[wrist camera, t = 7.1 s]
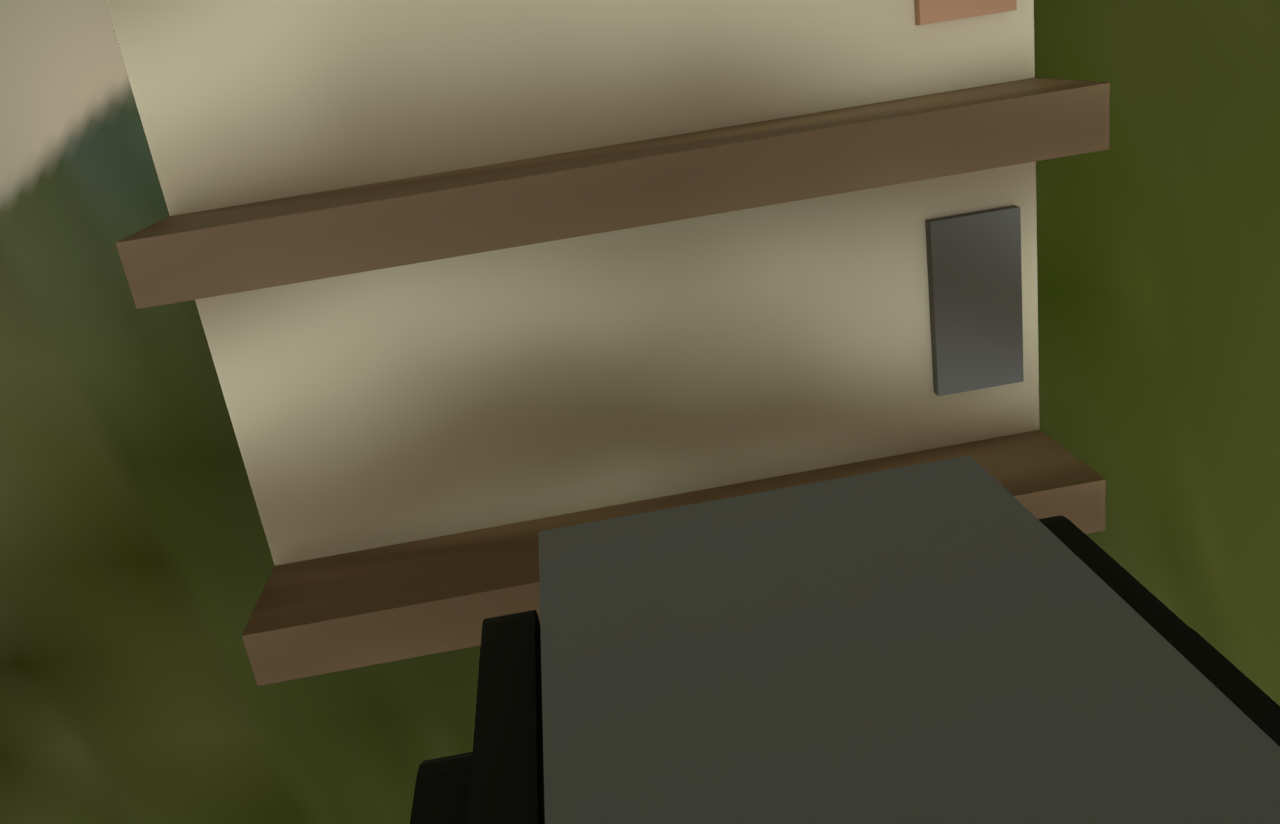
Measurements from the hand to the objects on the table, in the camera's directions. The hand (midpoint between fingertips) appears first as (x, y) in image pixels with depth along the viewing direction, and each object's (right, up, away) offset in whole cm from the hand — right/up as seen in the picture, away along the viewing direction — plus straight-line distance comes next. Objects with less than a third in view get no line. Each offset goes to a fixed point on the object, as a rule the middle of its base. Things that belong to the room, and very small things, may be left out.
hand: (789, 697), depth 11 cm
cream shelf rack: (-2, +8, +12) cm, 15 cm away
